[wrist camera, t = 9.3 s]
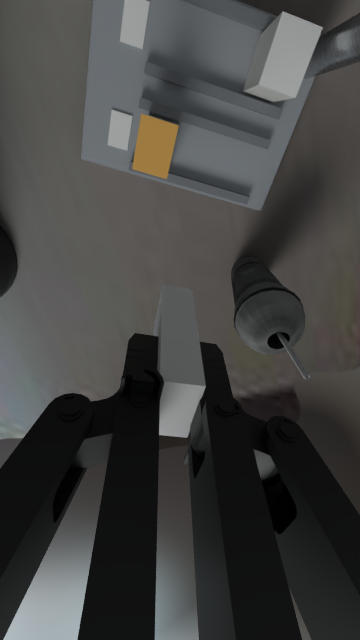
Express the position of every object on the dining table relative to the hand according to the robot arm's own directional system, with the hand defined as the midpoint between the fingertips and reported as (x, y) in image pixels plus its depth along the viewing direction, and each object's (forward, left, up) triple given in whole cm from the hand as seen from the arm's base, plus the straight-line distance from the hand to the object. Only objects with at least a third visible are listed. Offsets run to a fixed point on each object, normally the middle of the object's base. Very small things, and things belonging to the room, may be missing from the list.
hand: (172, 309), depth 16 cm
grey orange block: (-3, +6, -22) cm, 23 cm away
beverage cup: (+12, -6, -25) cm, 28 cm away
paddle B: (+5, +14, -22) cm, 26 cm away
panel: (-1, +10, -25) cm, 27 cm away
